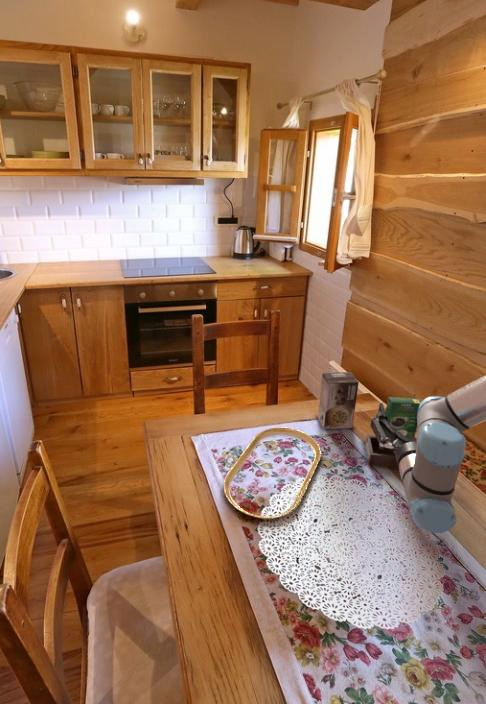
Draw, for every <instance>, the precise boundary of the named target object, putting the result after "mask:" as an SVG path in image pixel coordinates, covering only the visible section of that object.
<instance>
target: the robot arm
mask: <svg viewBox="0 0 486 704" xmlns="http://www.w3.org/2000/svg"><path fill="white" fill-rule="evenodd" d="M384 406H385V405H384V402H379V405H378V410H377V411H376V414H375V416H372V417H371V421H370V428H371V430H372V432H373V434H374V436H376V438H377V440H378V442H379V448H380V449H381V450H384V448H385V447H386V448H390V449H392V451H393V452H394V453H395V457H396V461H397V464H398V468H399V469H398V471H399V476H400V478H401V482H402V485H403V489H404V493H405V498H406V501H407V505H408V507H407V508H408V511H409V512H410V516H411V518H412V521H413V522H414V524H415V525H416V526H417V528H419V529H420V530H422V531H424V532H426V533H430V534H431V533H432V534H444V533H447V532H449V531H450V530H451V529H453V528H454V527H455V525H456V523H457V516H456V512H455V511H456V510H455V507H454V505H453V504H452V503H453V502H452V499H453V496H454V493H455V487H456V483H457V480H458V476H459V473H460V470H461V467H462V463H463V462H464V461H463V460H464V459H465V458H466V457H465V456H466V453H465V451H466V446H467V439H466V437H465V435H464V434H462V433H463V432H465V431H467V430H469V429H471V428H474V427H475V426H477V425H479V424H482V423H485V422H486V374H485V375H483V376H482V377H480V378H478V379H476V380H474V381H472V382H470V383H468V384H466V385H465V386H462V387H461V388H459V389H456V390H455V391H454V392H451V393H449V394H448V395H445V396H439V395H434V396H433V395H431V396H428V397H426V398H424V399H423V400H422V401H421V403H420V405H419V408H418V412H417V429H416V437H407V436H403V435H402V434H401V433H400V432H397V431H396V430H395V429H394V428H393V427H392V426H391V425H390V424H389V423H388V422H387V421H386V413H385V411H386V409H385V407H384ZM385 434H386V435H387V436H388V437H389V439H390V440H391V441H392V443H390V442H389V440H388V438H387V437H386V435H385Z"/></svg>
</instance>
